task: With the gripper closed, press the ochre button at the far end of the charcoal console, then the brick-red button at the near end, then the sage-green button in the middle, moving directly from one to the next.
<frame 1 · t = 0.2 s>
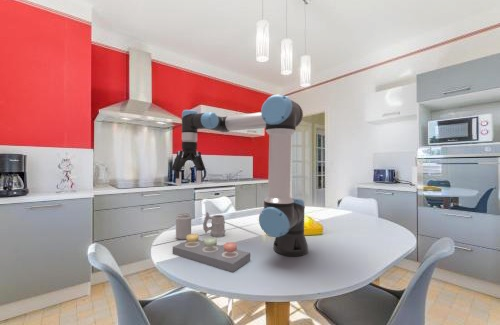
hand: (189, 184, 118), 27 cm above the table, tool pointing down, fingers open, 13 cm apart
button sage: (210, 242, 97), point 6 cm above the table, slide at 0.0 cm
console: (210, 256, 97), on the table
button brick: (230, 247, 92), point 6 cm above the table, slide at 0.0 cm
can: (183, 238, 120), on the table
mug: (214, 235, 125), on the table
button ochre: (192, 237, 102), point 6 cm above the table, slide at 0.0 cm
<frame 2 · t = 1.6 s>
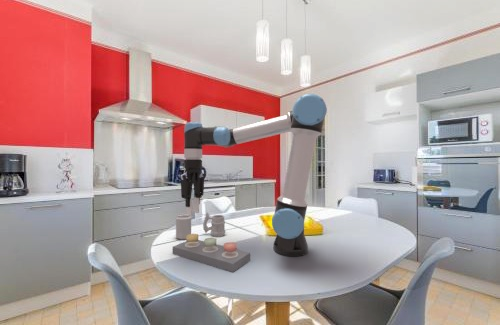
hand: (192, 213, 102), 17 cm above the table, tool pointing down, fingers open, 3 cm apart
nothing on the table moved.
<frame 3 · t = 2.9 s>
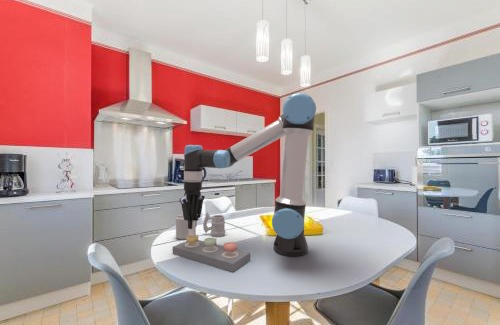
hand: (192, 235, 102), 7 cm above the table, tool pointing down, fingers closed
button ochre: (192, 238, 102), point 6 cm above the table, slide at 0.4 cm, touching gripper
everything else where it was.
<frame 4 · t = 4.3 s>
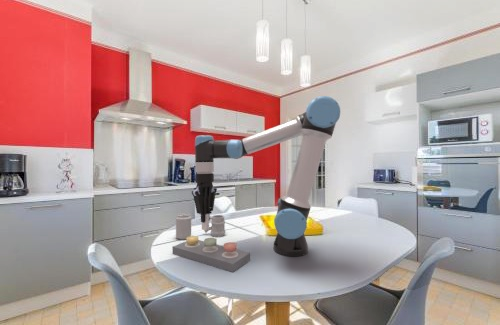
hand: (205, 229, 99), 11 cm above the table, tool pointing down, fingers closed
button ochre: (192, 240, 102), point 5 cm above the table, slide at 1.0 cm
everything else where it was.
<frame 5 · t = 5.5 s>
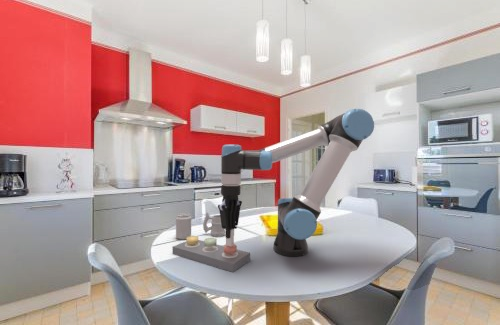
hand: (229, 245, 92), 7 cm above the table, tool pointing down, fingers closed
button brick: (230, 248, 92), point 5 cm above the table, slide at 0.7 cm
everything else where it was.
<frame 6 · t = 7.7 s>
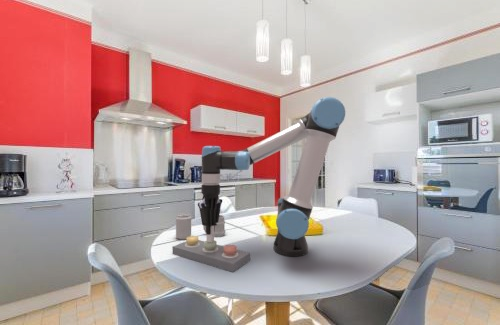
hand: (210, 241, 97), 6 cm above the table, tool pointing down, fingers closed
button sage: (210, 244, 97), point 5 cm above the table, slide at 1.0 cm, touching gripper
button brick: (230, 249, 92), point 5 cm above the table, slide at 1.0 cm
everything else where it was.
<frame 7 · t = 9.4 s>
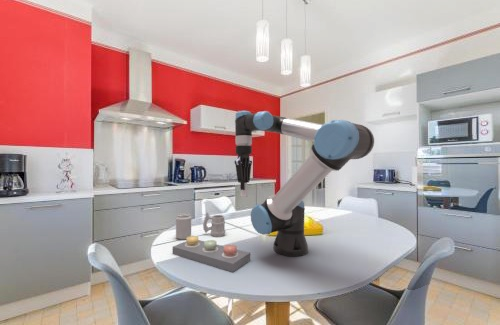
hand: (243, 196, 109), 23 cm above the table, tool pointing down, fingers closed
button sage: (210, 244, 97), point 5 cm above the table, slide at 1.0 cm
everything else where it was.
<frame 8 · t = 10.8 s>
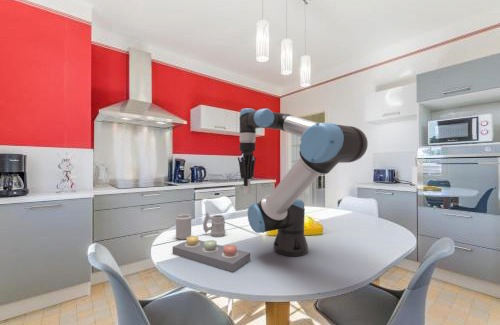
hand: (246, 192, 111), 24 cm above the table, tool pointing down, fingers closed
nothing on the table moved.
at the end: button ochre slide at 1.0 cm; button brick slide at 1.0 cm; button sage slide at 1.0 cm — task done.
